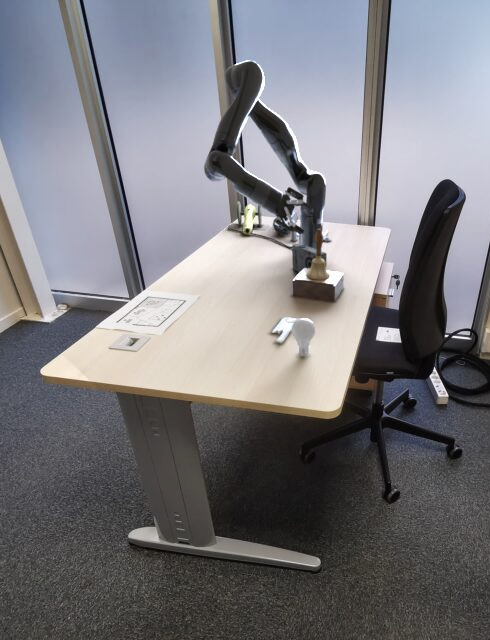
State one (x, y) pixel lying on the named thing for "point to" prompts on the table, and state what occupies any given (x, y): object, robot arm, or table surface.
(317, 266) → the hand bell
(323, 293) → the block
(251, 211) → the cannon
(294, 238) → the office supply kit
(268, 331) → the table surface
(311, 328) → the lightbulb
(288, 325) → the white cleaver
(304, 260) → the camera
